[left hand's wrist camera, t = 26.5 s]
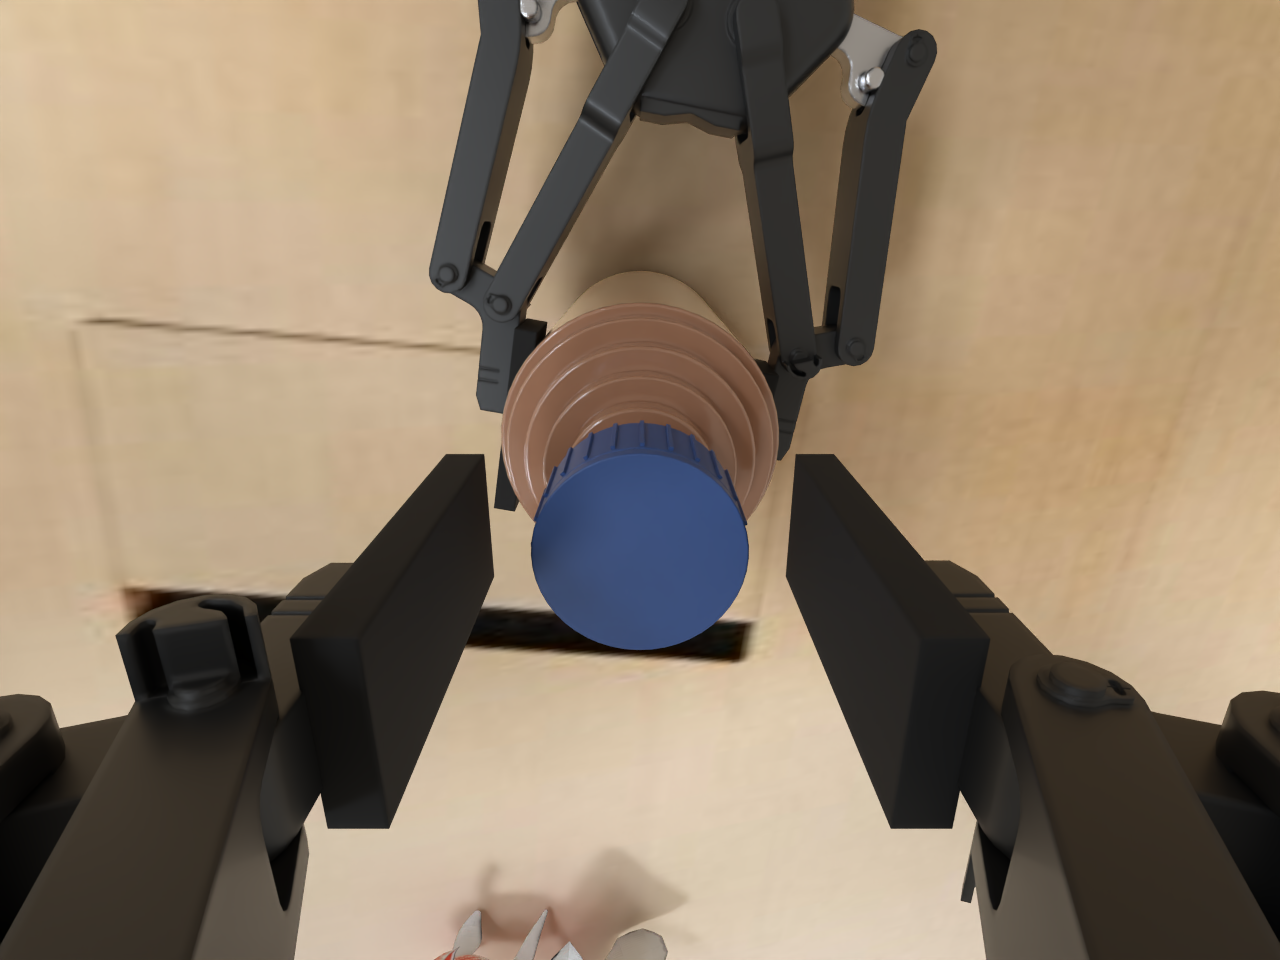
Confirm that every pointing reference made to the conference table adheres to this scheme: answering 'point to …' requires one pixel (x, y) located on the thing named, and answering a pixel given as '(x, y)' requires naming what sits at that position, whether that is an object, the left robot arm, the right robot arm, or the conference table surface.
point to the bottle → (640, 384)
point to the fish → (631, 956)
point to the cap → (639, 537)
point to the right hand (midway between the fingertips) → (617, 512)
